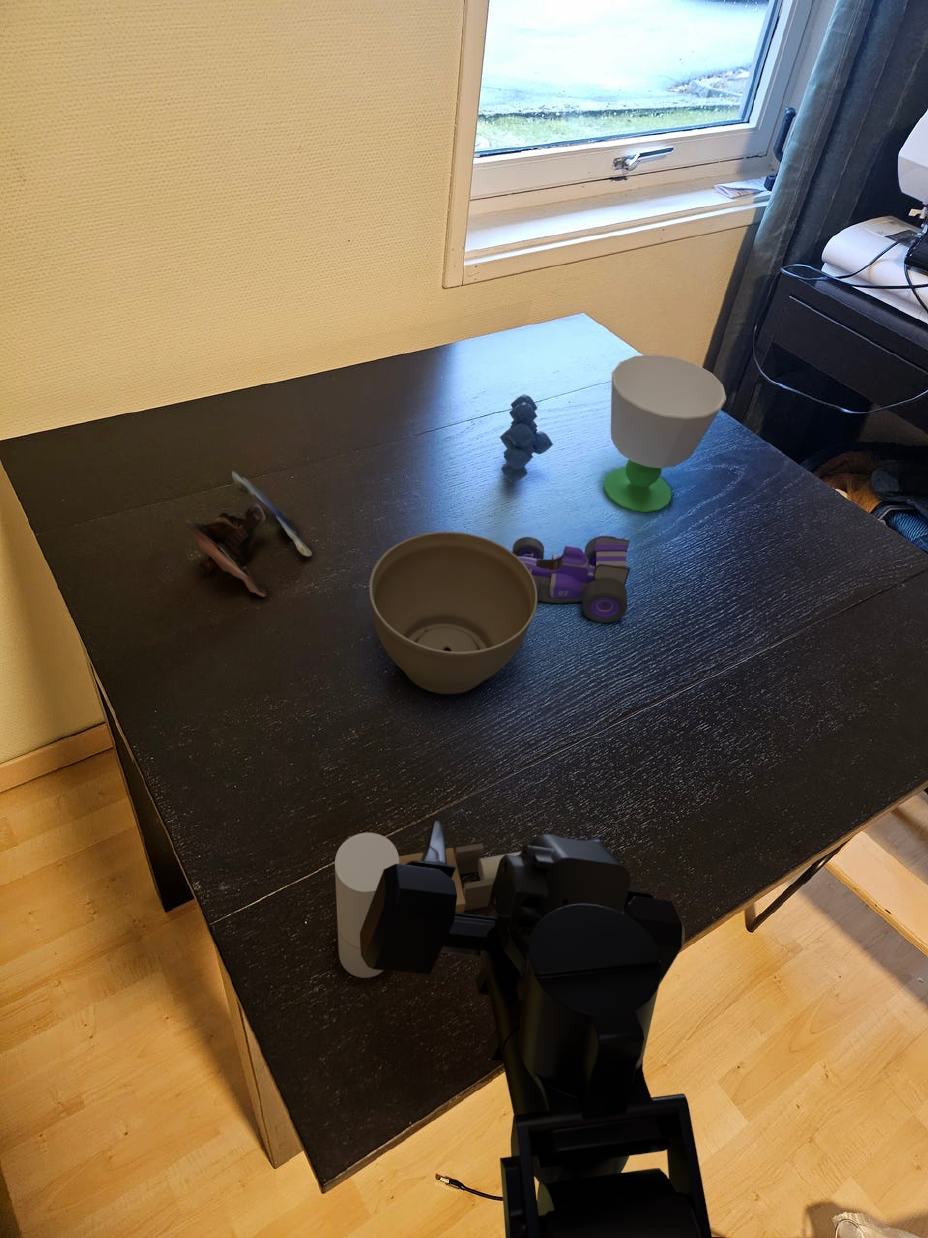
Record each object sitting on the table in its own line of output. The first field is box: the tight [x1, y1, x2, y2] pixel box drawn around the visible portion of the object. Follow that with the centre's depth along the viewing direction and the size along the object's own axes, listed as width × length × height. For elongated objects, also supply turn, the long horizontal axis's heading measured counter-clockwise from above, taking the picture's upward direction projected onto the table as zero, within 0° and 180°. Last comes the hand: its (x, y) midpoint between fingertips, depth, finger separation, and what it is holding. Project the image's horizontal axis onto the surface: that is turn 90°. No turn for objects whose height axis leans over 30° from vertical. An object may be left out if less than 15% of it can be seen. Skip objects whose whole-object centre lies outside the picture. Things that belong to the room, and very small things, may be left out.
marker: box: [478, 837, 603, 883], centre depth 72 cm, size 2×10×2 cm, turn 103°
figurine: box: [184, 471, 313, 598], centre depth 95 cm, size 15×9×13 cm
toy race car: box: [511, 535, 631, 624], centre depth 96 cm, size 10×15×6 cm, turn 83°
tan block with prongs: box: [398, 842, 494, 914], centre depth 71 cm, size 5×7×4 cm
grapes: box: [499, 394, 554, 484], centre depth 107 cm, size 12×7×12 cm, turn 174°
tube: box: [334, 832, 400, 979], centre depth 63 cm, size 4×4×15 cm
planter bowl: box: [368, 531, 538, 695], centre depth 86 cm, size 16×16×11 cm
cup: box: [603, 353, 727, 513], centre depth 107 cm, size 14×14×16 cm
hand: (499, 835), depth 58 cm, fingers open, 9 cm apart
